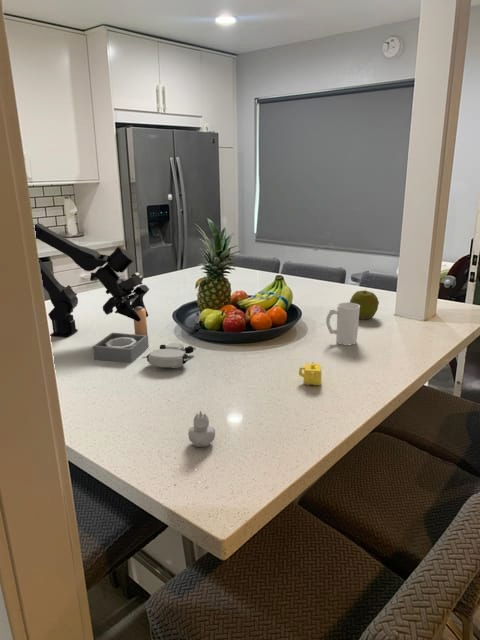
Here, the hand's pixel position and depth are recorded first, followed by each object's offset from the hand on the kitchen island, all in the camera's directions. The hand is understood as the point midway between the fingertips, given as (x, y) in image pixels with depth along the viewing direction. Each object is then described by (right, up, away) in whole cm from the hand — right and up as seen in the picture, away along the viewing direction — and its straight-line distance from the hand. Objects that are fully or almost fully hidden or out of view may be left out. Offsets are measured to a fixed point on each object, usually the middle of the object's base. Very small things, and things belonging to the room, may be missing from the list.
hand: (143, 318), depth 156 cm
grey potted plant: (+23, -26, -56) cm, 66 cm away
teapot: (+49, -17, -30) cm, 60 cm away
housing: (-4, -10, -10) cm, 15 cm away
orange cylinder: (-1, -6, +3) cm, 7 cm away
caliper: (+18, -1, +18) cm, 25 cm away
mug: (+63, -8, -3) cm, 64 cm away
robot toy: (+11, -13, -17) cm, 24 cm away
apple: (+76, 0, +20) cm, 78 cm away
